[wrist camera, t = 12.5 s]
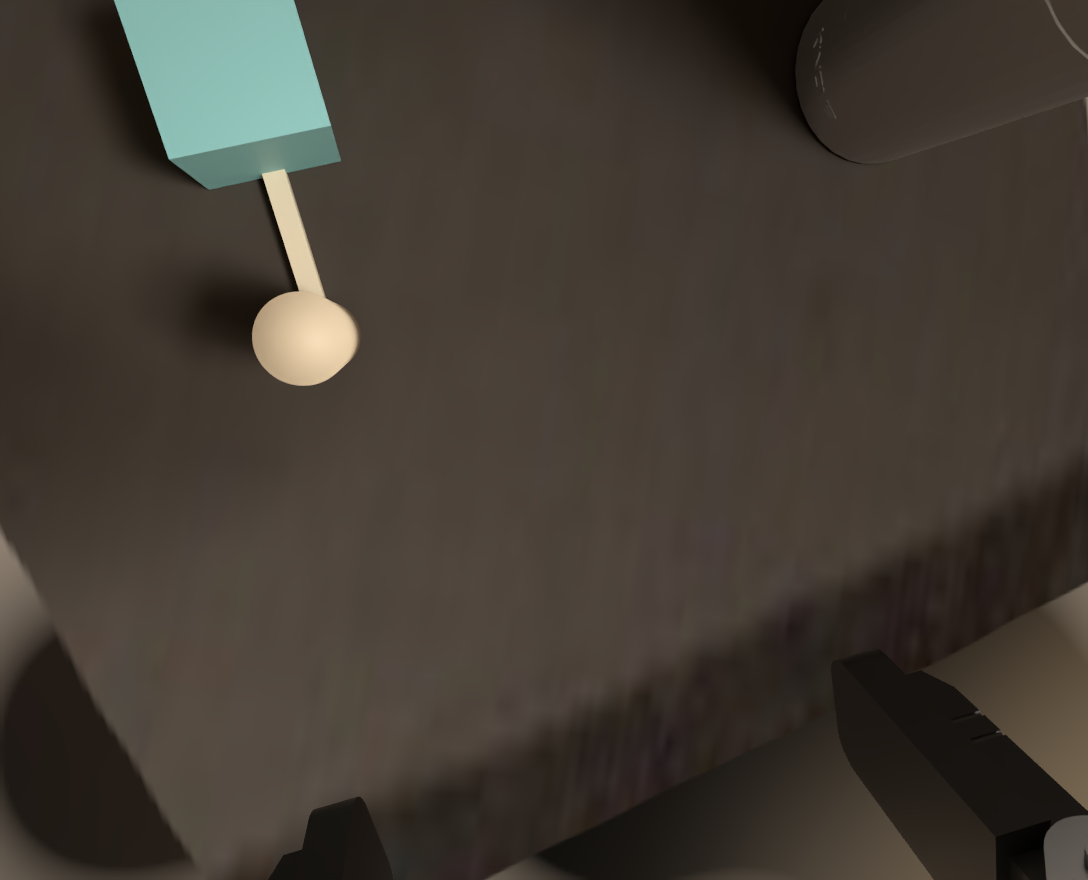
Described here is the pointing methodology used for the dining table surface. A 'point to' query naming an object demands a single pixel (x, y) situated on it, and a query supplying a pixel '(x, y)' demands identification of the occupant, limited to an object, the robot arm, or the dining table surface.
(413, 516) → the dining table surface
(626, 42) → the dining table surface
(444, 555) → the dining table surface
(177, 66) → the tethered block
